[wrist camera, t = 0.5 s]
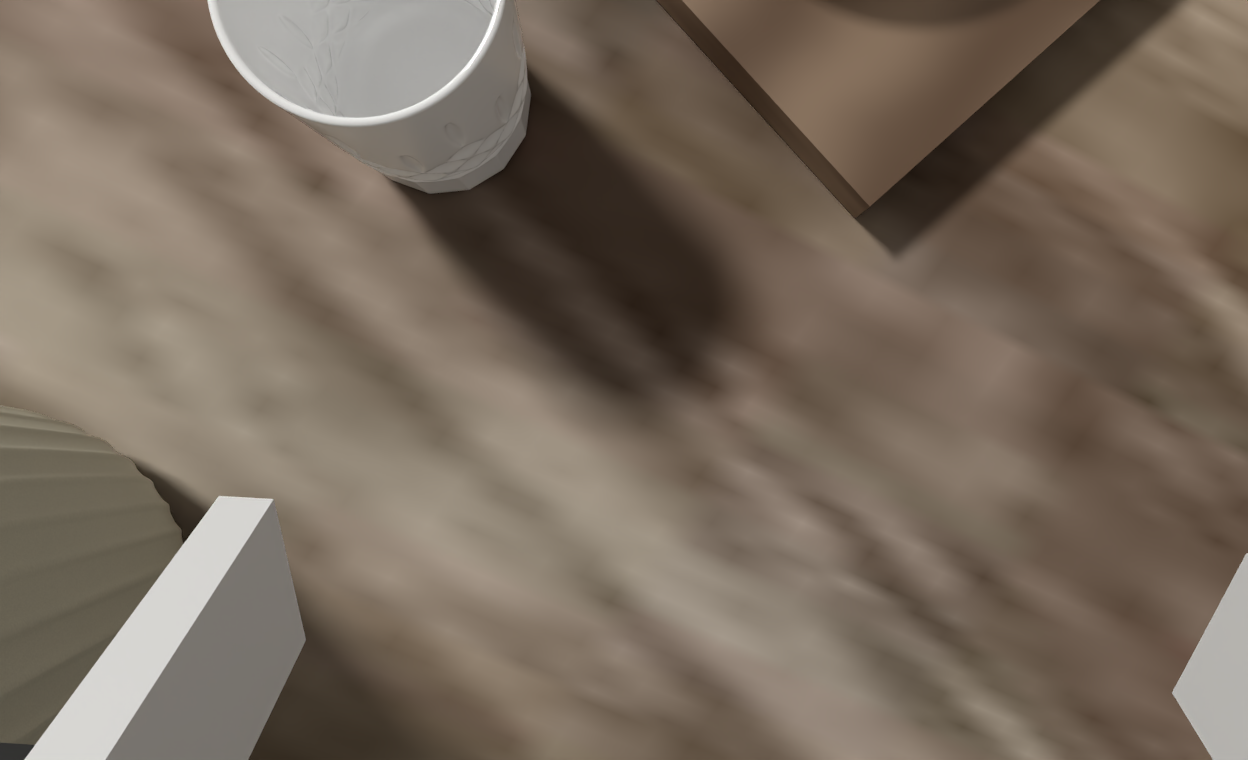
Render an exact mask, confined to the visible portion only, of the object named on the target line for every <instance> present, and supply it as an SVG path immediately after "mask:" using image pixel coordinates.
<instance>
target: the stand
mask: <svg viewBox="0 0 1248 760" xmlns="http://www.w3.org/2000/svg"><path fill="white" fill-rule="evenodd" d="M657 1H658V2H659V3H660V5H661V6H662V7H663V8H664V9H665V10H666V11H667V12H668V13H669V14H670V16H671V17H672V18H673V19H674V20H675V21H676V22H677V23H678V24H679V25H680V27H681V28H682V29H683V30H684V31H685V32H686V33H687V34H688V35H689V36H690V38H691V39H692V40H693V41H694V42H695V43H696V44H697V45H698V46H699V47H700V49H701V50H702V51H703V52H704V53H705V54H706V55H707V56H708V57H709V58H710V60H711V61H712V62H713V63H714V64H715V65H716V66H717V67H718V68H719V69H720V71H721V72H722V73H723V74H724V75H725V76H726V77H727V78H728V79H729V80H730V82H731V83H732V84H733V85H734V86H735V87H736V88H737V89H738V90H739V91H740V93H741V94H742V95H743V96H744V97H745V98H746V99H747V100H748V101H749V102H750V104H751V105H752V106H753V107H754V108H755V109H756V110H757V111H758V112H759V113H760V115H761V116H762V117H763V118H764V119H765V120H766V121H767V122H768V123H769V124H770V126H771V127H772V128H773V129H774V130H775V131H776V132H777V133H778V134H779V135H780V137H781V138H782V139H783V140H784V141H785V142H786V143H787V144H788V145H789V146H790V148H791V149H792V150H793V151H794V152H795V153H796V154H797V155H798V156H799V157H800V159H801V160H802V161H803V162H804V163H805V164H806V165H807V166H808V167H809V168H810V170H811V171H812V172H813V173H814V174H815V175H816V176H817V177H818V178H819V179H820V181H821V182H822V183H823V184H824V185H825V186H826V187H827V188H828V189H829V190H830V192H831V193H832V194H833V195H834V196H835V197H836V198H837V199H838V200H839V201H840V203H841V204H842V205H843V206H844V207H845V208H846V209H847V210H848V211H849V213H850V214H851V215H852V216H853V217H854V218H856V217H857V216H859V215H860V214H861V213H863V212H864V211H865V210H866V209H868V208H869V207H870V206H871V205H872V204H873V203H874V202H876V201H877V200H878V199H879V198H880V197H881V196H882V195H883V194H885V193H886V192H887V191H888V190H889V189H890V188H891V187H892V186H893V185H895V184H896V183H897V182H898V181H899V180H900V179H901V178H902V177H903V176H905V175H906V174H907V173H908V172H909V171H910V170H911V169H912V168H914V167H915V166H916V165H917V164H918V163H919V162H920V161H921V160H922V159H924V158H925V157H926V156H927V155H928V154H929V153H930V152H931V151H932V150H934V149H935V148H936V147H937V146H938V145H939V144H940V143H941V142H942V141H944V140H945V139H946V138H947V137H948V136H949V135H950V134H951V133H953V132H954V131H955V130H956V129H957V128H958V127H959V126H960V125H961V124H963V123H964V122H965V121H966V120H967V119H968V118H969V117H970V116H971V115H973V114H974V113H975V112H976V111H977V110H978V109H979V108H980V107H982V106H983V105H984V104H985V103H986V102H987V101H988V100H989V99H990V98H992V97H993V96H994V95H995V94H996V93H997V92H998V91H999V90H1000V89H1002V88H1003V87H1004V86H1005V85H1006V84H1007V83H1008V82H1009V81H1011V80H1012V79H1013V78H1014V77H1015V76H1016V75H1017V74H1018V73H1019V72H1021V71H1022V70H1023V69H1024V68H1025V67H1026V66H1027V65H1028V64H1029V63H1031V62H1032V61H1033V60H1034V59H1035V58H1036V57H1037V56H1038V55H1040V54H1041V53H1042V52H1043V51H1044V50H1045V49H1046V48H1047V47H1048V46H1050V45H1051V44H1052V43H1053V42H1054V41H1055V40H1056V39H1057V38H1058V37H1060V36H1061V35H1062V34H1063V33H1064V32H1065V31H1066V30H1067V29H1068V28H1070V27H1071V26H1072V25H1073V24H1074V23H1075V22H1076V21H1077V20H1079V19H1080V18H1081V17H1082V16H1083V15H1084V14H1085V13H1086V12H1087V11H1089V10H1090V9H1091V8H1092V7H1093V6H1094V5H1095V4H1096V3H1097V2H1099V1H1100V0H657Z"/></svg>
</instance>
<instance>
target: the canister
mask: <svg viewBox="0 0 1248 760" xmlns="http://www.w3.org/2000/svg"><path fill="white" fill-rule="evenodd" d="M181 534H182V530H181V528H180V527H179V526H178V525H177V524H176V523H175V521H174V519H173V517H172V515H171V513H170V506H169V504H168V503H167V502H165V501H164V500H163V499H162V498H161V496H160V495H159V494H158V492H157V491H156V489H155V487H154V483H153V482H152V481H151V480H150V479H149V478H147V477H145V476H143V475H142V474H141V473H140V472H139V471H138V469H137V468H136V466H135V464H134V462H133V461H132V460H131V459H129V458H127V457H125V456H123V455H120V454H119V453H118V452H116V451H115V450H114V449H113V447H112V446H111V445H110V444H109V443H108V442H106V441H104V440H103V439H101V438H98V437H94V436H90V435H88V434H87V433H86V432H85V431H84V430H82V429H81V428H79V427H77V426H75V425H73V424H70V423H67V422H64V421H59V420H54V419H52V418H50V417H48V416H46V415H43V414H40V413H37V412H33V411H28V410H24V409H18V408H13V407H7V406H1V405H0V743H14V744H29V745H36V743H37V742H38V740H39V739H40V738H41V736H42V735H43V734H44V732H45V731H46V730H47V728H48V727H49V726H50V724H51V723H52V722H53V720H54V719H55V717H56V716H57V715H58V713H59V712H60V711H61V709H62V708H63V707H64V705H65V704H66V703H67V701H68V700H69V698H70V697H71V696H72V694H73V693H74V692H75V690H76V689H77V688H78V686H79V685H80V684H81V682H82V681H83V679H84V678H85V677H86V675H87V674H88V673H89V671H90V670H91V669H92V667H93V666H94V665H95V663H96V662H97V661H98V659H99V658H100V656H101V655H102V654H103V652H104V651H105V650H106V648H107V647H108V646H109V644H110V643H111V642H112V640H113V639H114V637H115V636H116V635H117V633H118V632H119V631H120V629H121V628H122V627H123V625H124V624H125V623H126V621H127V620H128V619H129V617H130V616H131V614H132V613H133V612H134V610H135V609H136V608H137V606H138V605H139V604H140V602H141V601H142V600H143V598H144V597H145V595H146V594H147V593H148V591H149V590H150V589H151V587H152V586H153V585H154V583H155V582H156V581H157V579H158V578H159V576H160V575H161V574H162V572H163V571H164V570H165V568H166V567H167V566H168V564H169V563H170V562H171V560H172V559H173V558H174V556H175V555H176V553H177V552H178V551H179V549H180V548H181V547H182V545H183V540H182V535H181Z"/></svg>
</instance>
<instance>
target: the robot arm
mask: <svg viewBox="0 0 1248 760" xmlns="http://www.w3.org/2000/svg"><path fill="white" fill-rule="evenodd" d="M305 641H306V638H305V633H304V629H303V624H302V620H301V616H300V611H299V607H298V603H297V598H296V594H295V590H294V585H293V581H292V577H291V572H290V568H289V564H288V559H287V555H286V551H285V546H284V542H283V537H282V533H281V529H280V524H279V520H278V516H277V511H276V507H275V503H274V499H263V498H245V497H227V496H219V497H218V498H217V499H216V501H215V502H214V503H213V505H212V506H211V507H210V509H209V510H208V511H207V513H206V514H205V516H204V517H203V518H202V520H201V521H200V522H199V524H198V525H197V526H196V528H195V529H194V530H193V532H192V533H191V534H190V536H189V537H188V539H187V540H186V541H185V543H184V544H183V545H182V547H181V548H180V549H179V551H178V552H177V553H176V555H175V556H174V558H173V559H172V560H171V562H170V563H169V564H168V566H167V567H166V568H165V570H164V571H163V572H162V574H161V575H160V576H159V578H158V579H157V581H156V582H155V583H154V585H153V586H152V587H151V589H150V590H149V591H148V593H147V594H146V595H145V597H144V598H143V600H142V601H141V602H140V604H139V605H138V606H137V608H136V609H135V610H134V612H133V613H132V614H131V616H130V617H129V619H128V620H127V621H126V623H125V624H124V625H123V627H122V628H121V629H120V631H119V632H118V633H117V635H116V636H115V637H114V639H113V640H112V642H111V643H110V644H109V646H108V647H107V648H106V650H105V651H104V652H103V654H102V655H101V656H100V658H99V659H98V661H97V662H96V663H95V665H94V666H93V667H92V669H91V670H90V671H89V673H88V674H87V675H86V677H85V678H84V679H83V681H82V682H81V684H80V685H79V686H78V688H77V689H76V690H75V692H74V693H73V694H72V696H71V697H70V698H69V700H68V701H67V703H66V704H65V705H64V707H63V708H62V709H61V711H60V712H59V713H58V715H57V716H56V717H55V719H54V720H53V722H52V723H51V724H50V726H49V727H48V728H47V730H46V731H45V732H44V734H43V735H42V736H41V738H40V739H39V740H38V742H37V743H36V745H29V744H14V743H0V760H248V759H249V757H250V755H251V753H252V751H253V749H254V747H255V745H256V743H257V741H258V739H259V736H260V734H261V732H262V730H263V728H264V726H265V724H266V722H267V720H268V718H269V716H270V714H271V712H272V710H273V708H274V705H275V703H276V701H277V699H278V697H279V695H280V693H281V691H282V689H283V687H284V685H285V683H286V681H287V679H288V676H289V674H290V672H291V670H292V668H293V666H294V664H295V662H296V660H297V658H298V656H299V654H300V652H301V650H302V648H303V645H304V643H305ZM1172 693H1173V695H1174V697H1175V698H1176V700H1177V702H1178V703H1179V705H1180V707H1181V708H1182V710H1183V711H1184V713H1185V715H1186V716H1187V718H1188V720H1189V721H1190V723H1191V725H1192V726H1193V728H1194V729H1195V731H1196V733H1197V734H1198V736H1199V738H1200V739H1201V741H1202V742H1203V744H1204V746H1205V747H1206V749H1207V751H1208V752H1209V754H1210V756H1211V757H1212V759H1213V760H1248V554H1246V555H1245V557H1244V559H1243V561H1242V563H1241V565H1240V566H1239V568H1238V570H1237V572H1236V574H1235V576H1234V578H1233V580H1232V581H1231V583H1230V585H1229V587H1228V589H1227V591H1226V593H1225V595H1224V596H1223V598H1222V600H1221V602H1220V604H1219V606H1218V608H1217V610H1216V611H1215V613H1214V615H1213V617H1212V619H1211V621H1210V623H1209V625H1208V626H1207V628H1206V630H1205V632H1204V634H1203V636H1202V638H1201V640H1200V641H1199V643H1198V645H1197V647H1196V649H1195V651H1194V653H1193V654H1192V656H1191V658H1190V660H1189V662H1188V664H1187V666H1186V668H1185V669H1184V671H1183V673H1182V675H1181V677H1180V679H1179V681H1178V683H1177V684H1176V686H1175V688H1174V690H1173V692H1172Z"/></svg>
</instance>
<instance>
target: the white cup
mask: <svg viewBox="0 0 1248 760" xmlns="http://www.w3.org/2000/svg"><path fill="white" fill-rule="evenodd" d="M208 6H209V11H210V15H211V19H212V22H213V25H214V28H215V31H216V34H217V36H218V38H219V41H220V43H221V45H222V47H223V49H224V50H225V52H226V54H227V56H228V57H229V59H230V60H231V62H232V63H233V65H234V66H235V67H236V69H237V70H238V71H239V73H240V74H241V75H242V76H243V77H244V78H245V79H246V81H247V82H248V83H249V84H250V85H251V86H252V87H254V88H255V89H256V90H257V91H258V92H259V93H260V94H262V95H263V96H264V97H265V98H267V99H268V100H270V101H271V102H273V103H274V104H276V105H277V106H279V107H280V108H282V109H283V110H284V111H286V112H287V113H289V114H290V115H292V116H293V117H295V118H296V119H298V120H299V121H301V122H302V123H304V124H305V125H306V126H308V127H309V128H311V129H312V130H314V131H315V132H316V133H318V134H319V135H321V136H322V137H324V138H325V139H326V140H328V141H329V142H331V143H332V144H334V145H335V146H337V147H338V148H340V149H341V150H343V151H345V152H346V153H348V154H350V155H352V156H353V157H355V158H356V159H357V160H359V161H360V162H362V163H364V164H366V165H367V166H369V167H371V168H373V169H375V170H377V171H379V172H381V173H382V174H384V175H385V176H387V177H388V178H389V179H391V180H393V181H396V182H398V183H401V184H404V185H407V186H409V187H412V188H415V189H418V190H420V191H423V192H426V193H429V194H433V193H443V192H453V191H463V190H470V189H472V188H473V187H475V186H477V185H478V184H480V183H482V182H483V181H485V180H486V179H488V178H490V177H491V176H493V175H495V174H496V173H498V172H500V171H501V170H503V169H504V168H505V166H506V165H507V163H508V162H509V160H510V159H511V157H512V156H513V154H514V153H515V151H516V150H517V148H518V147H519V145H520V144H521V142H522V140H523V139H524V137H525V136H526V130H527V123H528V115H529V108H530V100H531V92H530V88H529V84H528V79H527V62H526V54H525V48H524V43H523V34H522V28H521V23H520V19H519V14H518V9H517V4H516V0H208Z"/></svg>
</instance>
